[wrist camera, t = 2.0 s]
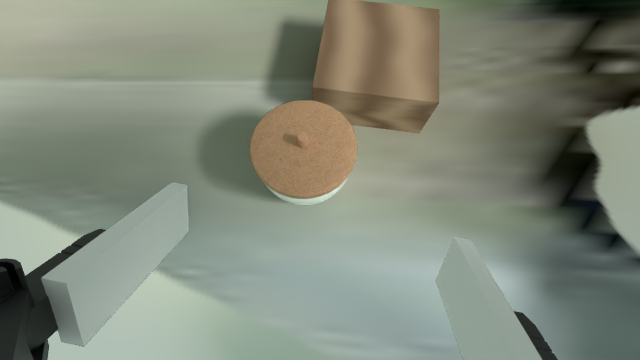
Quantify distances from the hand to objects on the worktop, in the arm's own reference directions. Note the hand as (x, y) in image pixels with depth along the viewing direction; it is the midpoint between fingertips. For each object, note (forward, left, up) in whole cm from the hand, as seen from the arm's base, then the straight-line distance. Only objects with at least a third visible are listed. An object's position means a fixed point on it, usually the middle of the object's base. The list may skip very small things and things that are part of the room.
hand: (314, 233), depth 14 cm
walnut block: (-3, -25, -20) cm, 32 cm away
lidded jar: (+3, -10, -19) cm, 22 cm away
